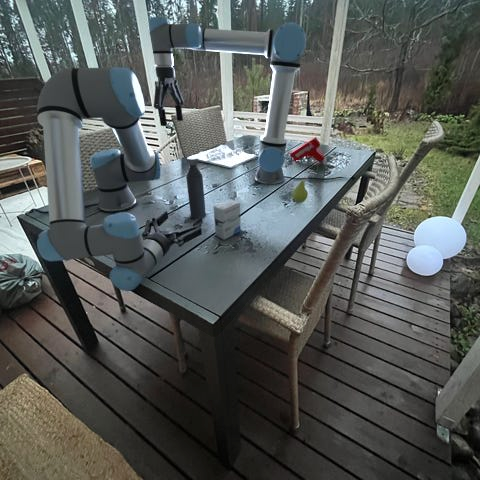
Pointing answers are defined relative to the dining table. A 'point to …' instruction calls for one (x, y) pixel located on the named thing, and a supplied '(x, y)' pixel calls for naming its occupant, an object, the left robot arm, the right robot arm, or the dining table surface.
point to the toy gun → (308, 151)
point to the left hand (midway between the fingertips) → (184, 216)
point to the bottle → (195, 192)
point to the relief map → (224, 156)
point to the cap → (192, 160)
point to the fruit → (300, 192)
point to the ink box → (227, 218)
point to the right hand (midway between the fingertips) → (172, 123)
